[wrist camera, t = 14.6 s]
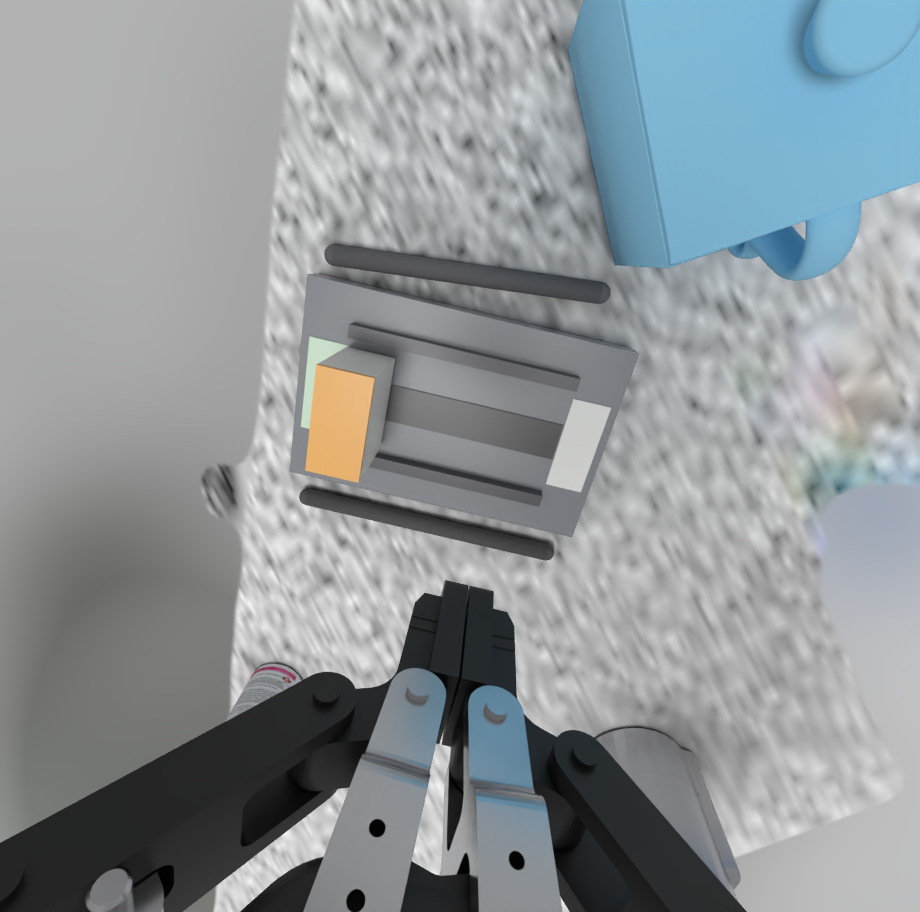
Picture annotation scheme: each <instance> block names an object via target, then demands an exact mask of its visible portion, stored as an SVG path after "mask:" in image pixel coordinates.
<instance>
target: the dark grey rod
mask: <svg viewBox="0 0 920 912" xmlns="http://www.w3.org/2000/svg"><path fill="white" fill-rule="evenodd" d="M299 498H300V501H301V502H302V503H303V504H305V505H308V506H313V507H317V508H321V509H326V510H330V511H334V512H339V513H343V514H347V515H352V516H356V517H360V518H365V519H369V520H373V521H378V522H382V523H386V524H390V525H395V526H399V527H403V528H408V529H412V530H416V531H421V532H425V533H429V534H434V535H438V536H442V537H447V538H451V539H455V540H459V541H464V542H468V543H472V544H477V545H481V546H485V547H490V548H494V549H498V550H503V551H507V552H511V553H516V554H520V555H524V556H528V557H533V558H537V559H541V560H550V559H551V558H552V557H553V555H554V549H553V548H552V546H551V545H549V544H545V543H541V542H536V541H532V540H528V539H523V538H519V537H515V536H511V535H506V534H502V533H498V532H493V531H489V530H485V529H480V528H476V527H472V526H468V525H463V524H459V523H455V522H450V521H446V520H442V519H437V518H433V517H429V516H424V515H420V514H416V513H412V512H407V511H403V510H399V509H394V508H390V507H386V506H381V505H377V504H373V503H369V502H364V501H360V500H356V499H351V498H347V497H343V496H338V495H334V494H330V493H325V492H321V491H317V490H313V489H305V490H303V491H302V492H301V493H300V496H299Z"/></svg>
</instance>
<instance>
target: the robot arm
mask: <svg viewBox="0 0 920 912" xmlns="http://www.w3.org/2000/svg"><path fill="white" fill-rule="evenodd" d="M514 640H515V637H514V625H513V623H512V621H511V619H510V617H509V615H508V613H507V612H504V611H500V610H496V609H493V591H490V590H486V589H482V588H477V587H473V586H470V587H469V590H468V585H464V584H460V583H456V582H451V581H447V580H445V583H444V587H443V591H442V595H441V597H440V596H436V595H432V594H427V593H424V594H423V595H422V596H421V597H420V598H419V599H418V600H417V601H416V602H415V605H414V609H413V613H412V617H411V621H410V625H409V629H408V632H407V636H406V640H405V644H404V648H403V652H402V655H401V659H400V663H399V667H398V670H397V672H396V674H395V675H394V676H393V677H392V679H390V680H389V681H388V682H386V683H385V684H383V685H380V686H377V687H373V688H362V689H355V687H354V685H353V683H352V682H351V681H350V680H349V679H348V678H346V677H345V676H343V675H341V674H338V673H334V672H321V673H317V674H314V675H312V676H310V677H308V678H306V679H304V680H302V681H300V682H298V683H297V684H295V685H293V686H291V687H289V688H287V689H285V690H284V691H282V692H280V693H278V694H276V695H274V696H272V697H271V698H269V699H267V700H265V701H263V702H261V703H259V704H258V705H256V706H254V707H252V708H250V709H248V710H246V711H245V712H243V713H241V714H239V715H237V716H235V717H233V718H232V719H230V720H228V721H226V722H224V723H222V724H220V725H219V726H217V727H215V728H213V729H211V730H209V731H207V732H206V733H204V734H202V735H200V736H198V737H196V738H194V739H193V740H191V741H189V742H187V743H185V744H183V745H181V746H180V747H178V748H176V749H174V750H172V751H170V752H168V753H167V754H165V755H163V756H161V757H159V758H157V759H155V760H154V761H152V762H150V763H148V764H146V765H144V766H143V767H141V768H139V769H137V770H135V771H133V772H131V773H129V774H128V775H126V776H124V777H122V778H120V779H118V780H117V781H115V782H113V783H111V784H109V785H107V786H105V787H103V788H102V789H100V790H98V791H96V792H94V793H92V794H90V795H89V796H87V797H85V798H83V799H81V800H79V801H77V802H76V803H74V804H72V805H70V806H68V807H66V808H64V809H63V810H61V811H59V812H57V813H55V814H53V815H51V816H50V817H48V818H46V819H44V820H42V821H40V822H38V823H37V824H35V825H33V826H31V827H29V828H27V829H25V830H24V831H22V832H20V833H18V834H16V835H14V836H12V837H11V838H9V839H7V840H5V841H3V842H1V843H0V912H183V911H184V910H185V909H187V908H188V907H189V906H190V905H192V904H193V903H194V902H196V901H197V900H198V899H199V898H201V897H202V896H203V895H205V894H206V893H207V892H208V891H210V890H211V889H212V888H214V887H215V886H216V885H218V884H219V883H220V882H221V881H223V880H224V879H225V878H227V877H228V876H229V875H231V874H232V873H233V872H234V871H236V870H237V869H238V868H240V867H241V866H242V865H244V864H245V863H246V862H247V861H249V860H250V859H251V858H253V857H254V856H255V855H256V854H258V853H259V852H260V851H262V850H263V849H264V848H266V847H267V846H268V845H269V844H271V843H272V842H273V841H275V840H276V839H277V838H278V837H280V836H281V835H282V834H284V833H285V832H286V831H288V830H289V829H290V828H291V827H293V826H294V825H295V824H297V823H298V822H299V821H300V820H302V819H303V818H304V817H306V816H307V815H308V814H310V813H311V812H312V811H313V810H315V809H316V808H317V807H319V806H320V805H321V804H323V803H324V802H325V801H326V800H328V799H329V798H330V797H331V796H332V795H333V794H334V793H335V792H336V791H337V789H340V788H348V787H349V790H348V793H347V796H346V798H345V801H344V804H343V806H342V809H341V812H340V814H339V817H338V820H337V822H336V825H335V828H334V830H333V833H332V836H331V838H330V841H329V844H328V847H327V849H326V852H325V855H324V857H321V858H317V859H313V860H311V861H308V862H305V863H303V864H301V865H299V866H297V867H295V868H293V869H291V870H290V871H288V872H287V873H285V874H284V875H282V876H281V877H280V878H278V879H277V880H276V881H274V882H273V883H272V884H271V885H270V886H269V887H267V888H266V889H265V890H264V891H263V892H262V893H261V894H260V895H258V896H257V897H256V898H255V899H254V900H253V901H252V902H251V903H249V904H248V905H247V906H246V907H245V908H244V909H243V910H242V911H240V912H562V906H561V899H560V897H561V898H562V900H563V901H564V903H565V905H566V906H567V908H568V909H569V911H570V912H746V911H745V909H744V908H743V907H742V906H741V905H740V904H739V902H738V901H737V898H736V895H735V893H734V889H735V888H736V887H737V885H738V884H739V882H740V878H741V877H740V872H739V869H738V867H737V864H736V861H735V859H734V856H733V854H732V851H731V849H730V846H729V844H728V841H727V838H726V836H725V833H724V831H723V828H722V826H721V823H720V821H719V818H718V815H717V813H716V810H715V808H714V805H713V803H712V800H711V798H710V795H709V792H708V790H707V787H706V785H705V782H704V780H703V777H702V775H701V772H700V769H699V767H698V764H697V762H696V759H695V757H694V754H693V752H690V751H686V750H683V749H681V748H680V747H679V746H678V745H677V744H676V743H675V741H674V740H672V739H671V738H669V737H668V736H666V735H664V734H662V733H659V732H657V731H653V730H649V729H642V728H625V729H619V730H615V731H611V732H608V733H606V734H603V735H601V736H600V737H598V738H596V739H595V738H593V737H592V736H590V735H588V734H586V733H584V732H581V731H576V730H569V731H565V732H563V733H561V734H560V735H559V736H558V737H556V736H554V735H552V734H550V733H548V732H546V731H545V730H543V729H541V728H539V727H538V726H536V725H535V724H534V723H532V722H531V721H530V720H529V719H528V718H527V717H526V716H525V714H524V713H523V709H522V707H521V705H520V703H519V701H518V700H517V695H516V666H515V642H514ZM443 730H444V731H443ZM442 733H443V739H442V745H446V746H450V747H451V754H450V762H449V765H448V768H447V772H446V775H445V790H444V817H443V844H442V863H441V871H440V876H439V875H435V874H433V873H431V872H429V871H427V870H426V869H424V868H422V867H421V866H419V865H417V864H415V863H414V862H412V856H413V852H414V847H415V842H416V838H417V833H418V829H419V824H420V820H421V815H422V811H423V806H424V802H425V797H426V792H427V788H428V783H429V778H430V774H429V773H430V768H431V763H432V759H433V754H434V750H435V745H436V743H437V744H439V743H440V740H441V736H442Z"/></svg>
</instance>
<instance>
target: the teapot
mask: <svg viewBox="0 0 920 912" xmlns="http://www.w3.org/2000/svg"><path fill="white" fill-rule="evenodd" d="M568 53H569V57H570V62H571V66H572V71H573V76H574V80H575V85H576V89H577V94H578V99H579V103H580V108H581V112H582V117H583V121H584V126H585V130H586V135H587V140H588V144H589V149H590V154H591V158H592V163H593V168H594V172H595V177H596V181H597V186H598V190H599V195H600V199H601V204H602V208H603V213H604V218H605V222H606V227H607V232H608V236H609V241H610V245H611V250H612V255H613V259H614V264H615V265H622V266H638V267H655V268H670V267H673V266H676V265H679V264H682V263H685V262H688V261H690V260H693V259H696V258H699V257H702V256H705V255H708V254H711V253H714V252H717V251H719V250H722V249H725V248H728V249H729V251H730V252H731V253H732V254H733V255H734V256H735V257H738V258H742V259H750V258H755V257H757V256H760V257H761V258H762V260H763V261H764V262H765V263H766V264H767V265H768V266H769V267H770V268H771V269H772V270H773V271H774V272H775V273H776V274H777V275H779V276H781V277H783V278H785V279H788V280H794V281H797V280H806V279H811V278H814V277H817V276H820V275H822V274H824V273H826V272H828V271H830V270H831V269H833V268H834V267H836V266H837V265H838V264H839V263H841V261H842V260H843V259H844V258H845V257H846V256H847V254H848V253H849V251H850V250H851V248H852V246H853V244H854V242H855V239H856V236H857V233H858V229H859V224H860V216H861V202H862V201H865V200H867V199H870V198H873V197H876V196H879V195H882V194H885V193H888V192H891V191H894V190H896V189H899V188H902V187H905V186H908V185H911V184H914V183H917V182H920V0H584V1H583V4H582V7H581V10H580V13H579V16H578V19H577V22H576V25H575V28H574V31H573V35H572V38H571V41H570V44H569V47H568ZM804 221H806V238H805V240H804V239H803V238H802V237H801V236H800V235H799V234H798V233H797V232H796V230H795V229H794V228H793V227H792V225H795V224H798V223H801V222H804Z"/></svg>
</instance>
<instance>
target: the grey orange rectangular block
mask: <svg viewBox="0 0 920 912" xmlns="http://www.w3.org/2000/svg"><path fill="white" fill-rule="evenodd" d="M394 364H395V358H392V357H388V356H384V355H380V354H375V353H371V352H367V351H363V350H359V349H354V348H350V347H346V348H344V349H342V350H341V351H339V352H337V353H335V354H334V355H332V356H330V357H329V358H327V359H325V360H323V361H322V362H320V363H318V364H316V371H315V381H314V390H313V400H312V410H311V419H310V429H309V439H308V448H307V458H306V467H305V471H309V472H314V473H318V474H322V475H326V476H331V477H335V478H339V479H344V480H348V481H352V482H357V483H359V481H360V480H361V478H362V476H363V475H364V473H365V472H366V470H367V469H368V467H369V465H370V464H371V462H372V461H373V459H374V457H375V456H376V454H377V453H378V451H379V449H380V447H381V441H382V435H383V429H384V423H385V417H386V412H387V406H388V400H389V394H390V388H391V382H392V376H393V370H394Z"/></svg>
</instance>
